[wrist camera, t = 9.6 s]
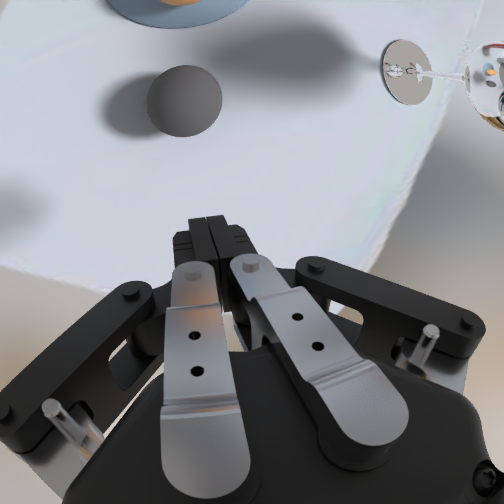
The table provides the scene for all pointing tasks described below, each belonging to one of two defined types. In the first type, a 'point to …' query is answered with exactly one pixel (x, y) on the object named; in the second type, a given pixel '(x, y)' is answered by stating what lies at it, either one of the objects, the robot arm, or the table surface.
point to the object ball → (180, 2)
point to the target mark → (175, 12)
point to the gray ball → (184, 101)
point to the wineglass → (449, 77)
